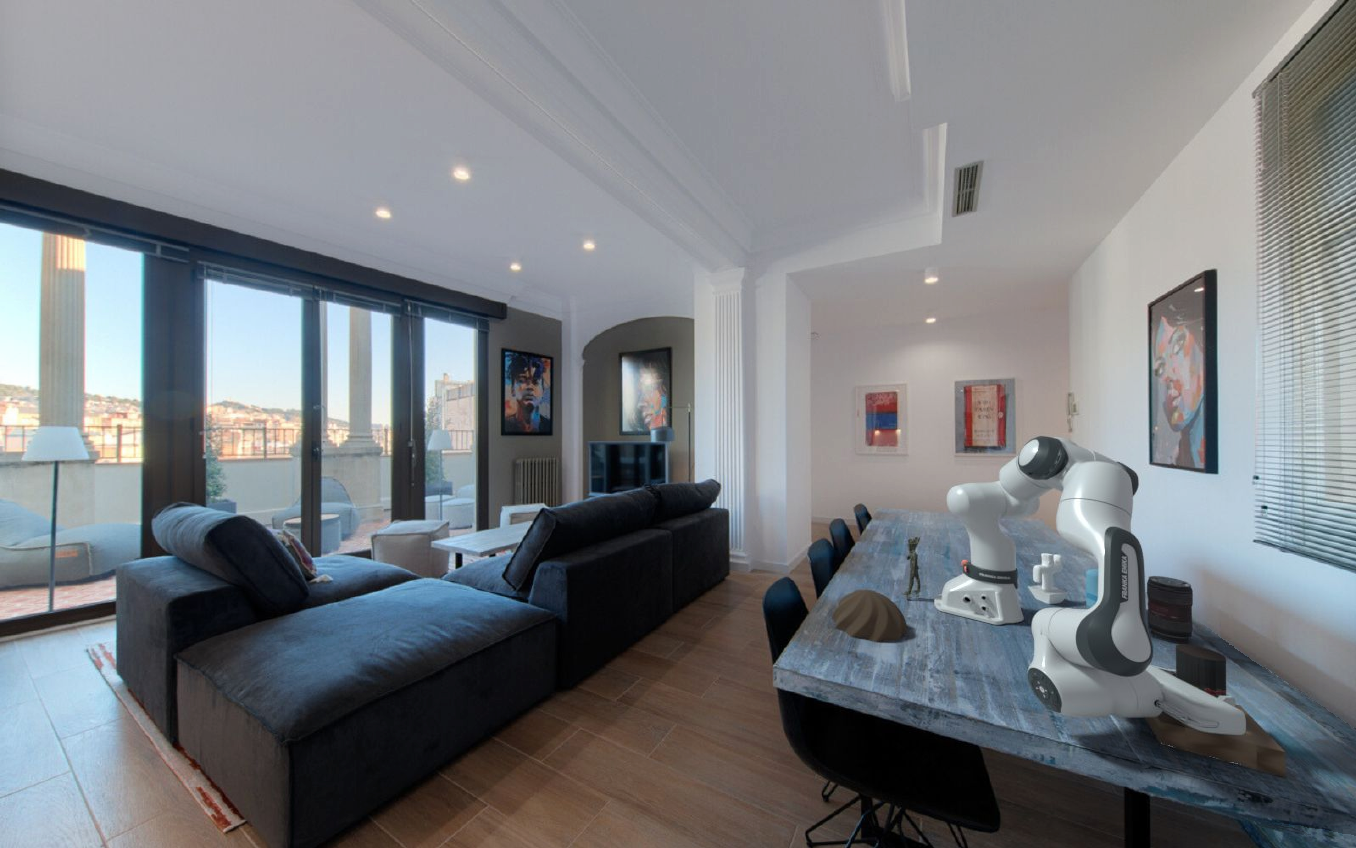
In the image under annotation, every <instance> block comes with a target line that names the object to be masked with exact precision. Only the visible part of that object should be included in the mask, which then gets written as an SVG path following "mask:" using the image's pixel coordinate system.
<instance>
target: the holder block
mask: <svg viewBox="0 0 1356 848" xmlns="http://www.w3.org/2000/svg"><path fill="white" fill-rule="evenodd" d="M1235 707H1236V708H1238V709H1240V710H1241V711H1243V712H1244V714H1245V719H1246V731H1245V733H1244V734H1243V735H1227V734H1216V733H1208V732H1203V731H1199V730H1196V729H1194V728H1191V727H1189V726H1187V725H1186V724H1184V723H1182V722H1181V721H1179V720H1177V719H1175V718H1174V717H1172V716H1170V715H1169V714H1167V713H1165V712H1164V711H1162V712H1161V714H1160V715H1158V716H1156V717H1144V719H1145V720H1146V722H1147V724H1148V726H1149V727H1150V729H1151V730H1152V733H1153V734H1154V736H1155V735H1156V736H1155V737H1156V739H1157V738H1158V739H1157V740H1159V741H1160V742H1159V741H1158V742H1159V744H1160V743H1162V744H1165V745H1170V746H1173V747H1175V748H1174V749H1177V748H1179V749H1178V750H1181V749H1182V750H1181V751H1185V752H1188V751H1190V752H1189V753H1192V754H1196V755H1200V756H1203V755H1204V756H1203V757H1207V756H1211V757H1215V758H1218V759H1220V760H1219V761H1222V760H1223V761H1222V762H1226V761H1229V762H1228V763H1230V762H1234V763H1238V764H1241V765H1244V766H1243V767H1245V768H1249V767H1251V768H1250V769H1252V768H1254V769H1253V770H1256V771H1260V772H1264V773H1267V774H1268V773H1269V774H1272V775H1276V776H1279V777H1283V778H1286V777H1287V766H1286V765H1287V764H1286V763H1287V761H1286V755H1287V754H1286V750H1284V749H1283V748H1282V747H1281V746H1280V745H1279V744H1278V743H1277V742H1276V741H1275V740H1274V739H1273V737H1272V736H1270V734H1269V733H1268V732H1267V731H1266V730H1265V729H1264V728H1263V727H1262V726H1261V725H1260V724H1259V723H1258V721H1256V720H1255V718H1253V717H1252V716H1251V715H1250V713H1248V712H1247V711H1246V710H1245V708H1244V707H1243V706H1242V705H1240V704H1236V703H1235ZM1162 744H1161V745H1162ZM1165 745H1164V746H1165ZM1173 747H1172V748H1173ZM1211 757H1210V758H1211ZM1215 758H1214V759H1215ZM1218 759H1217V760H1218ZM1234 763H1233V764H1234ZM1241 765H1240V766H1241Z"/></svg>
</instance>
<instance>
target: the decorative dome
mask: <svg viewBox="0 0 1356 848" xmlns="http://www.w3.org/2000/svg"><path fill="white" fill-rule="evenodd" d="M837 604H838V605H837V606H836V607H835V609H834V610H833V612H832V615H831V619H832V621H833V622H834V623H835V624H834V628H835V629H836V630H839V631H841V632H844V633H846V634H847V635H848V636H849V637H851V638H856V639H863V640H868V641H871V642H874V643H881V642H885V641H895V642H896V641H897V642H898V641H900V639H901V637H902V636H904V635H907V634H908V627H907V626H908V624H907V620H906V617H905V616H904V614H903V613H902V611H901V609H900V608H899V607H898V606H897V604H896V603H895V602H893V601H892V600H891V599H890V598H889V597H887V596H886V595H885V594H881V593H880V592H877V591H875V590H871V589H857V590H854V591H852V592H850V593H848V594H846V595H844V596H843V597H842V598H840V599H839V601H838V603H837Z"/></svg>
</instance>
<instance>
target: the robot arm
mask: <svg viewBox="0 0 1356 848" xmlns="http://www.w3.org/2000/svg"><path fill="white" fill-rule="evenodd" d="M998 479H999V480H997V481H991V482H990V481H989V482H967V483H960V484H958V485H955V486H952V487H950V489H949V490H948V492H947V494H946V504H947V505H946V506H947V508H948V510H949V512H950V513H951V514H952V515H953V516H954V517H956V518H957V519H958V520H959V521H960V522H961V523H962V525H964V528H965V529H966V532H967V533H968V538H969V548H970V561H969V560H967V559H962V561H961V566H962V574H960V575H958V576H956V577H953V578H951V579H949V580H947V581H946V583H945V584H944V585H943V588H942V593H941V594H938V595H936V596H934V602H933V604H934V607H935V608H936V609H937V610H938V611H940V612H943V613H948V614H951V615H955V616H957V617H958V616H959V617H963V618H967V619H971V620H976V621H979V622H982V623H983V622H984V623H988V624H990V625H991V624H992V625H996V626H1001V625H1004V624H1015V623H1019V622H1022V621H1024V619H1025V618H1024V614H1023V612H1022V608H1021V604H1020V600H1019V593H1018V589H1019V576H1020V575H1019V572H1018V571H1019V570H1018V568H1017V554H1016V553H1017V552H1016V550H1017V549H1016V547H1017V546H1016V543H1015V541H1014V539H1013V538H1012V537H1010V536H1009V535H1008V534H1006V533H1004V532H1003V531H1002V530H1001V527H1000V525H999V520H1018V519H1019V520H1020V519H1024V518H1026V517H1031V516H1033V515H1035V514H1036V513H1037V512H1038V510H1039V508H1040V505H1041V500H1040V497H1042V496H1043V495H1045V494H1047V493H1048V492H1050V491H1051V490H1053V489H1054V490H1057V491H1059V492H1062V493H1061V496H1060V499H1059V502H1058V508H1057V510H1056V515H1055V527H1056V531H1057V533H1058V534H1059V536H1060V537H1061V538H1062V539H1063V541H1065V543H1067V544H1068V545H1070V546H1071V547H1072V548H1075V549H1076V550H1077V551H1080V552H1082V553H1085V554H1087V555H1088V556H1089V555H1090V556H1093V557H1095V559H1096V561H1097V564H1098V565H1097V569H1098V599H1097V602H1096V604H1095V605H1094V606H1093V607H1091V608H1089V607H1088V608H1086V609H1085V608H1084V609H1083V608H1071V607H1052V606H1051V607H1050V606H1049V607H1044V608H1041V609H1039V610H1038V611H1036V612H1035V614H1034V615H1033V616H1032V619H1031V621H1030V622H1031V623H1030V632H1031V636H1032V639H1033V642H1034V643H1033V645H1034V646H1033V647H1034V648H1033V649H1034V650H1033V658H1032V661H1031V663H1030V665H1029V666H1028V669H1027V672H1026V675H1027V676H1026V677H1027V681H1028V684H1029V686H1030V689H1031V691H1032V693H1034V695H1035V697H1036V698H1037V700H1039V702H1040V703H1041V704H1043V705H1044V706H1045V707H1046V708H1047V709H1049V710H1050V711H1052V712H1054V713H1056V714H1059V715H1062V716H1067V717H1072V718H1073V717H1074V718H1086V719H1088V718H1089V719H1095V718H1096V719H1100V718H1101V719H1103V718H1108V717H1109V716H1115V717H1119V718H1124V719H1127V718H1131V719H1132V718H1145V717H1156V716H1158V715H1160V714H1161V712H1162V711H1164V712H1165V713H1167V714H1169V715H1170V716H1172V717H1174V718H1175V719H1177V720H1179V721H1181V722H1182V723H1184V724H1186V725H1187V726H1189V727H1191V728H1194V729H1196V730H1199V731H1203V732H1208V733H1216V734H1227V735H1243V734H1244V733H1245V731H1246V719H1245V714H1244V712H1243V711H1241V710H1240V709H1238V708H1236V707H1235V704H1236V698H1235V697H1234V696H1231V695H1229V694H1227V693H1226V694H1225V693H1215V697H1214V696H1212V695H1210V694H1208V693H1206V692H1204V691H1202V690H1200V689H1198V688H1196V687H1194V686H1192V685H1190V684H1188V683H1186V682H1184V681H1182V680H1180V679H1178V678H1176V668H1175V669H1168V668H1165V667H1161V666H1156V665H1153V664H1151V663H1152V660H1153V657H1154V645H1153V639H1152V636H1151V633H1150V630H1149V624H1148V617H1147V605H1146V604H1147V598H1146V573H1145V571H1146V570H1145V558H1144V552H1143V548H1142V545H1141V543H1140V541H1139V539H1138V538H1137V537H1136V535H1135V534H1133V532H1132V529H1131V528H1132V517H1133V508H1134V496H1135V495H1136V493H1137V492H1138V489H1139V485H1140V483H1139V482H1140V480H1139V476H1138V473H1137V472H1136V471H1135V470H1133V469H1132V468H1130V467H1129V466H1128V465H1126V464H1124V463H1122V462H1120V461H1115V460H1113V459H1111V458H1109V457H1107V456H1105V455H1104V454H1101V453H1099V452H1096V451H1094V450H1092V449H1088V448H1085V447H1081V446H1079V445H1077V444H1076V443H1075V442H1074V441H1072V440H1071V439H1068V438H1066V437H1062V436H1053V437H1051V436H1046V435H1045V436H1044V435H1039V436H1036V437H1034V438H1031V439H1029V440H1028V441H1027V442H1026V443H1025V444H1024V445H1023V447H1022V448H1021V450H1020V452H1019V454H1018V455H1016V456H1015V457H1014V458H1013V459H1012V460H1010V461H1009V462H1007V463H1006V464H1005V465H1003V466H1002V467H1001V468H1000V470H999V473H998Z"/></svg>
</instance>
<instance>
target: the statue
mask: <svg viewBox="0 0 1356 848" xmlns="http://www.w3.org/2000/svg"><path fill="white" fill-rule="evenodd" d="M920 540H921V538H920V537H917V536H915V537H914V538H913V539H912V538H909V539H908V540H907V541H908V543H907V547H908V548H907V550H908V553H909V554H908V555H906V560H907V561H909V566H910V567H909V568H910V572H909V583H908V588H907V591H905V592H902V593H901V594H902V595H903V596H906V600H909V601H910V599H911V595H912V594H914V593H915V597H916V598H919V597H920V593H921V580H920V577H919V576H920V575H919V569H920V568H919V567H920V566H919V564H918V561H919V560H918V559H919V555H918V553H917V552H916V549H917V547H918V545H919V542H920ZM914 580H915V581H914ZM914 582H915V583H916V589H914V590H913V587H914V584H915V583H914Z"/></svg>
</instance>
